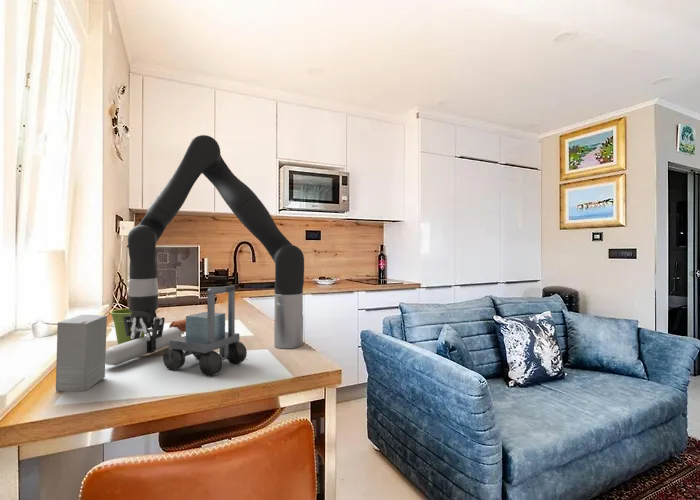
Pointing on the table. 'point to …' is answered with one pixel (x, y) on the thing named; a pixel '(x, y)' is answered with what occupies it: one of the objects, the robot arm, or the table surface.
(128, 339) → the plant pot
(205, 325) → the trolley
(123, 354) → the tube
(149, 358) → the table surface
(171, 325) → the bull figurine
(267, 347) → the table surface
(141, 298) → the robot arm
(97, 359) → the skincare box
